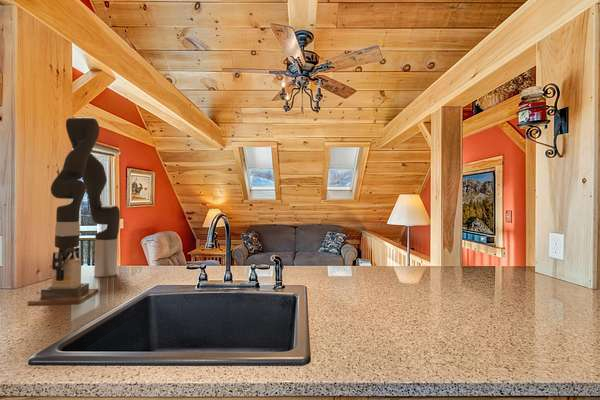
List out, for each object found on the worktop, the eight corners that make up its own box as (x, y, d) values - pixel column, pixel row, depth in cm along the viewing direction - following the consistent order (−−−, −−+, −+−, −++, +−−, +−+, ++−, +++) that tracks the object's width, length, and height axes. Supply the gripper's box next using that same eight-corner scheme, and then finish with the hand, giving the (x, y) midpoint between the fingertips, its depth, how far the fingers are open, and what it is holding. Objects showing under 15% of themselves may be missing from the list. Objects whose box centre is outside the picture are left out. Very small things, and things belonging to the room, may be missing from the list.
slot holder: (54, 292, 134) (54, 281, 134) (98, 291, 137) (98, 281, 137) (27, 304, 119) (28, 292, 119) (78, 304, 121) (78, 292, 121)
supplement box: (81, 293, 130) (82, 258, 130) (72, 296, 125) (73, 260, 125) (60, 292, 131) (61, 257, 131) (50, 295, 126) (51, 259, 126)
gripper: (66, 231, 134) (65, 273, 134) (44, 235, 120) (43, 282, 120) (87, 232, 135) (86, 273, 135) (68, 236, 121) (67, 282, 121)
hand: (66, 277), depth 128 cm, fingers open, 8 cm apart
